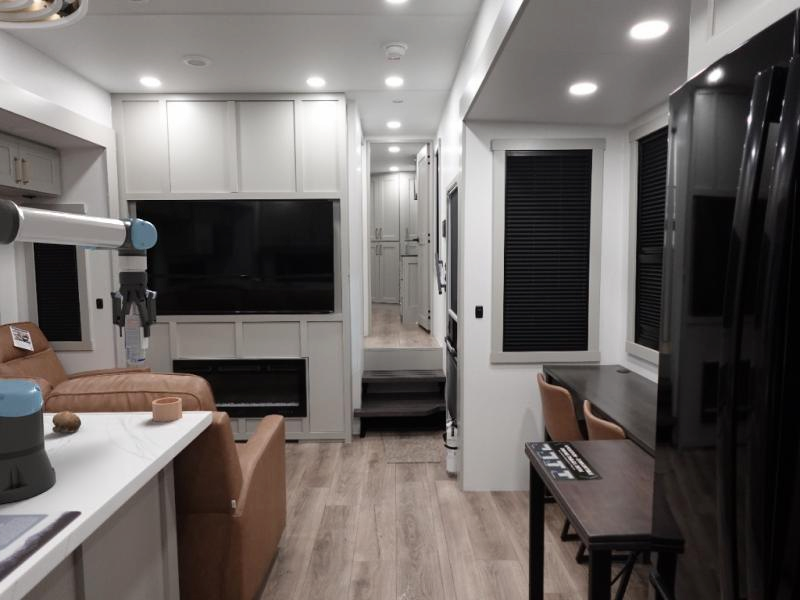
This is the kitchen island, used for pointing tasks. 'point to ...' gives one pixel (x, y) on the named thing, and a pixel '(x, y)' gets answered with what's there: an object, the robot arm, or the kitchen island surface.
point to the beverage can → (133, 340)
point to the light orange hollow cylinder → (167, 409)
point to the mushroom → (66, 422)
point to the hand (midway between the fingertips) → (135, 348)
